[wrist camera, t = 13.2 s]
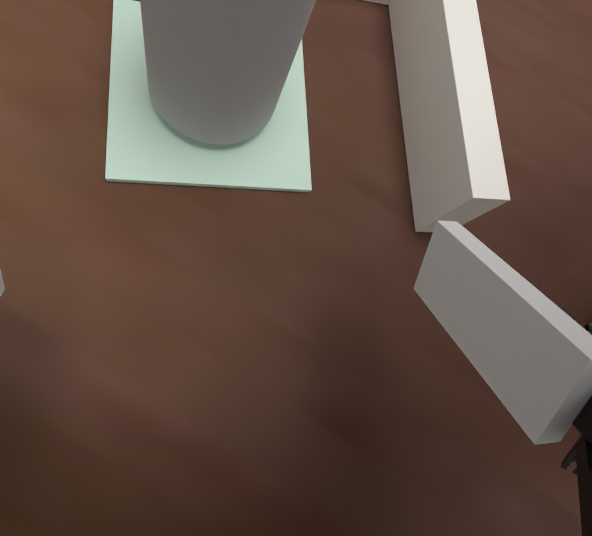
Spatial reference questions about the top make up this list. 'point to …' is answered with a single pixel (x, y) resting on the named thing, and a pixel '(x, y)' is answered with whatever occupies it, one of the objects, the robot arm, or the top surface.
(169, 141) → the pad
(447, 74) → the corner arena
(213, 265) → the top surface
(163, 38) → the beverage can
